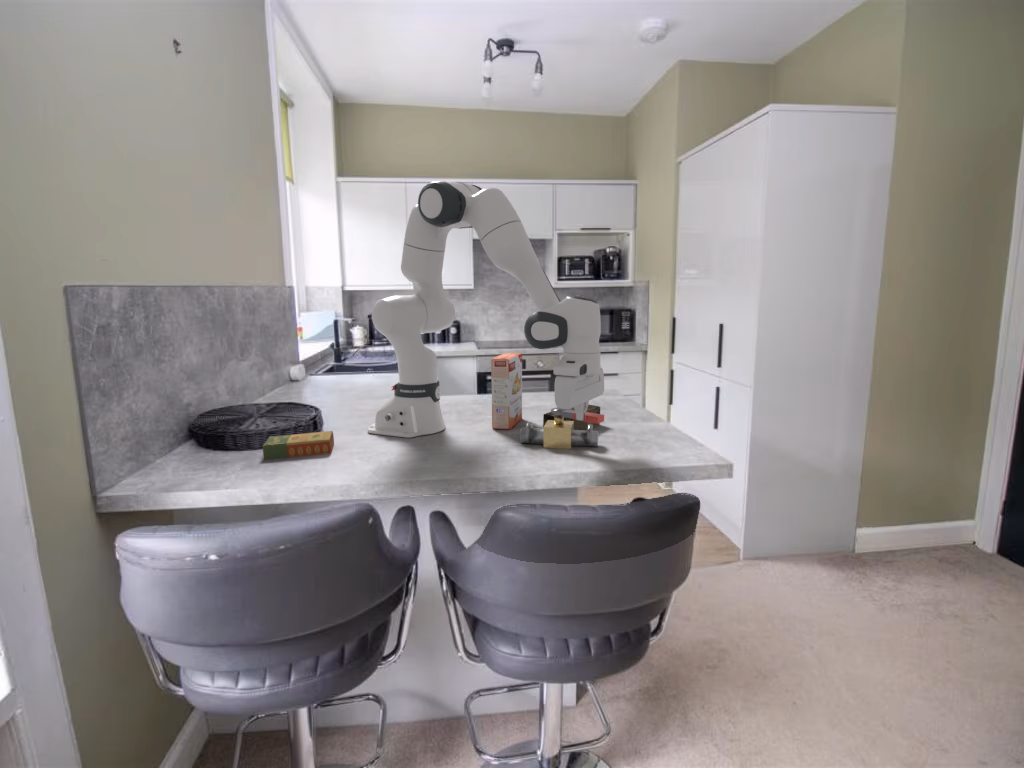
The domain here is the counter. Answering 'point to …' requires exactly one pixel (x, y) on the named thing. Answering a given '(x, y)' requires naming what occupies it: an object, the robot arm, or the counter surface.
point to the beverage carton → (577, 423)
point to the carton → (298, 445)
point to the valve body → (559, 434)
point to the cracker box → (506, 390)
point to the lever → (572, 414)
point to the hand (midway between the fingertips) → (581, 419)
